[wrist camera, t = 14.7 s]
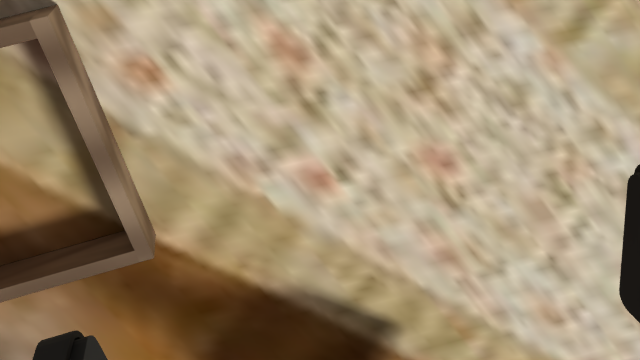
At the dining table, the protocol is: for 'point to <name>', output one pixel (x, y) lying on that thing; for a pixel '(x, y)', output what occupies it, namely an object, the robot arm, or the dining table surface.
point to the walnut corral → (106, 156)
